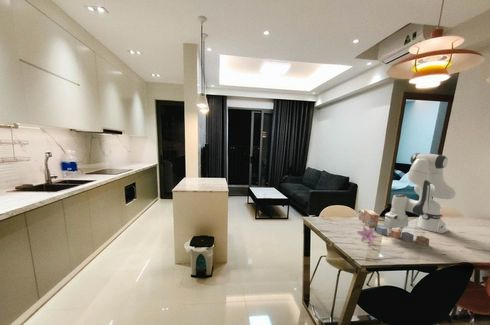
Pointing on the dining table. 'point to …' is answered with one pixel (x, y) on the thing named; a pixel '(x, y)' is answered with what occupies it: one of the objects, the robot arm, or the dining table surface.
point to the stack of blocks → (369, 218)
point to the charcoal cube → (407, 236)
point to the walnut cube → (422, 240)
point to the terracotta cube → (395, 233)
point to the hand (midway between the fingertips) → (395, 232)
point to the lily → (367, 235)
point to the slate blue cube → (381, 230)
